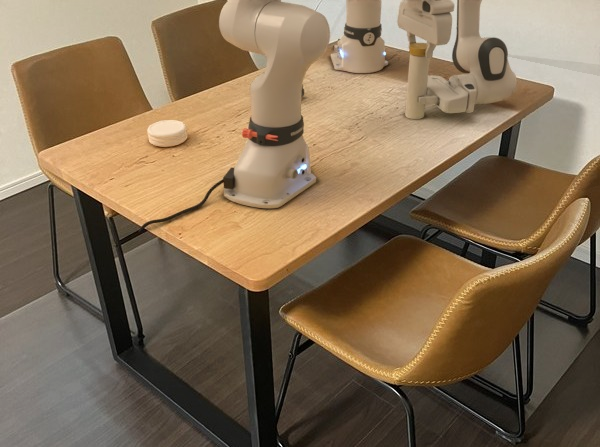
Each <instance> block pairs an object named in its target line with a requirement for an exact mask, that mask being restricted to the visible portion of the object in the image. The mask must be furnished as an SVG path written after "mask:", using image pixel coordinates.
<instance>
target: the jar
mask: <svg viewBox="0 0 600 447" xmlns="http://www.w3.org/2000/svg"><path fill="white" fill-rule="evenodd" d="M430 61H431V58H426V57H424V56H415V55H411V54H410V53H409V61H408V74H407V87H406V99H405V112H404V116H405V117H406V118H408V119H411V120H421V119H423V118H425V111H426V104H419V103H418V102H417V100H418V99H417V98H418V96H426V93H427V82H428V76H429V72H430Z"/></svg>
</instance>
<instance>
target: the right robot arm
mask: <svg viewBox="0 0 600 447" xmlns="http://www.w3.org/2000/svg"><path fill="white" fill-rule="evenodd" d="M456 1H457V2H456V37H455V42H454V45H453V48H452V53H451V55H452V56H451V58H452V60H451V61H452V63H453V65H454V67H455V68H456V69H457V70H458V71H459V72H460V73H461V74H453V75H451V76H450V77H449V79H448V80H447V79H446V78H444V77H443V76H441V75H432V74H431V75H428V82H427V93H426V96H418V98H417V99H418V100H417V102H418V103H419V104H425V105H429V106H436V107H437V108H438V109H439V110H440V111H442V112H443V113H446V114H459V113H467V114H469V113H473V112H474V110H475V105H476V104H482V105H489V104H494V103H499V102H502V101H506V100H507V99H509V98H511V97H513V95H514V93H515V91H516V89H517V84H518V83H517V82H518V80H517V75H516V74H515V71H513V69H512V68H511V66H510V65H511V64H510V62H509V58H508V57H509V56H508V55H509V54H508V53H509V52H508V51H509V50H508V47H507V45H506V43H505V42H504V41H503V40H502V39H501V38H498V37H491V36H488V37H487V36H486V37H481V35H480V21H481V20H480V19H481V18H480V16H481V4H482V2H483V0H456ZM345 2H346V8H345V9H346V12H345V14H346V18H345V19H346V22H345V23H344V27H343V35H342V36H341V37H340V38H338V39H337V44H334V45H333V46H332V48H333V53H331V54H330V60H331V62H332V65H333V69H334V70H335V71H344V72H349V73H354V74H370V73H376V72H379V71H381V70H383V68H385V67H387V66H388V65H389V61H388V60H386V59H385V57H386V55H387V54H386V53H387V52H385V50H386V49H385V47H386V46H385V43H386V42H385V40H384V38H382V37H381V36H382V32H383V31H382V30H383V28H382V23H381V19H382V4H383V3H382V0H345Z"/></svg>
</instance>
